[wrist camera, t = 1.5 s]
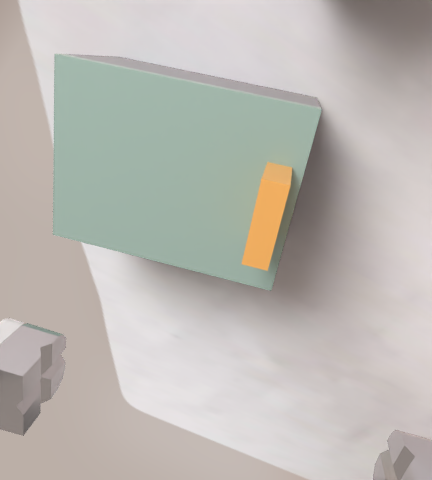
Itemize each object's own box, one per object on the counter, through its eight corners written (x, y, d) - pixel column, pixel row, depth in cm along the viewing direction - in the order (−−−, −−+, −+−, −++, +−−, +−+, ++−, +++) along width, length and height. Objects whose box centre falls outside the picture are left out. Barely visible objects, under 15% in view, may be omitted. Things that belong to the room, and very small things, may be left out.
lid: (320, 106, 24) (325, 117, 19) (273, 277, 29) (266, 325, 24) (71, 54, 26) (10, 51, 21) (67, 224, 31) (17, 258, 26)
